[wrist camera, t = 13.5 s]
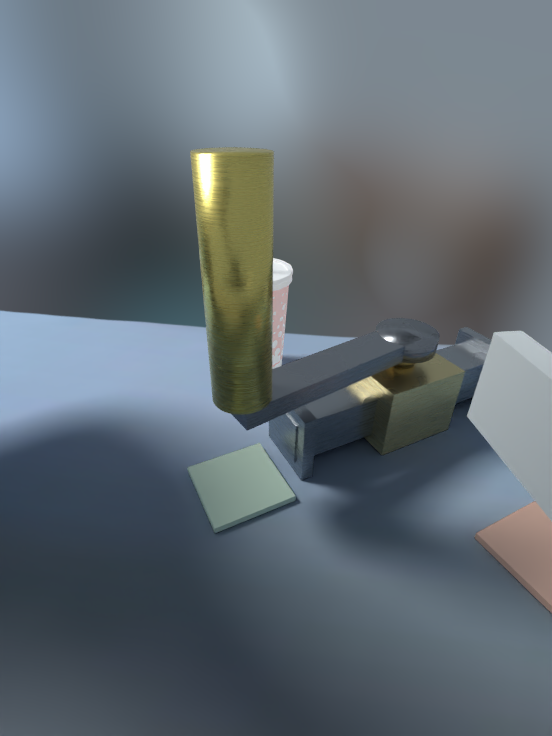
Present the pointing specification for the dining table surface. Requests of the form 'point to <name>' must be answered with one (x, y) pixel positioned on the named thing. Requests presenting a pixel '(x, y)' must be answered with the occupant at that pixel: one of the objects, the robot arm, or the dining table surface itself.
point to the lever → (269, 300)
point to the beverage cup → (279, 307)
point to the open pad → (239, 486)
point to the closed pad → (524, 549)
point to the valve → (384, 406)
